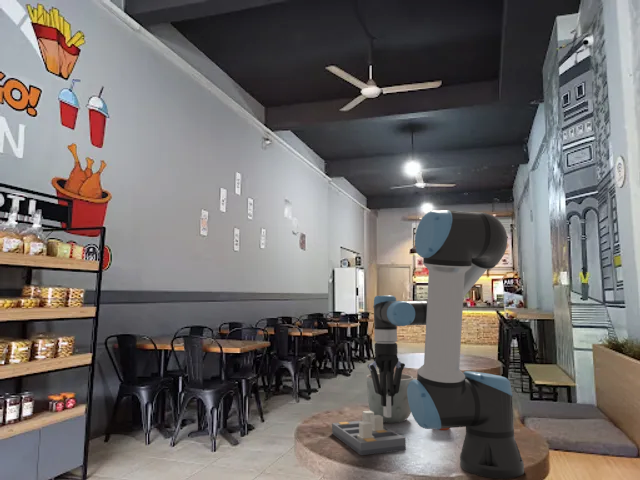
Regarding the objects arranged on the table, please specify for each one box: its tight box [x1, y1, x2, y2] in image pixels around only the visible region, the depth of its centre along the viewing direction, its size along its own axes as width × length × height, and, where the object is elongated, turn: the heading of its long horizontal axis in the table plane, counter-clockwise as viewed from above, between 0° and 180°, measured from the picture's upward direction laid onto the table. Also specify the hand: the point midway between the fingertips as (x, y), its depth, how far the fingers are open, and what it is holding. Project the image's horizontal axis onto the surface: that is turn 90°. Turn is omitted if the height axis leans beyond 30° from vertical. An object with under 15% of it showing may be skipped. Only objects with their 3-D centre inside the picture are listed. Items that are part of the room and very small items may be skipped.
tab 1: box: [361, 410, 374, 423], centre depth 142 cm, size 3×4×6 cm
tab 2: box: [357, 421, 375, 440], centre depth 129 cm, size 3×4×6 cm
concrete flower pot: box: [365, 372, 414, 424], centre depth 161 cm, size 17×17×15 cm
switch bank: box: [331, 419, 407, 456], centre depth 135 cm, size 22×14×3 cm, turn 20°
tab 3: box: [371, 415, 385, 432], centre depth 137 cm, size 3×4×6 cm
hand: (387, 416), depth 145 cm, fingers closed
